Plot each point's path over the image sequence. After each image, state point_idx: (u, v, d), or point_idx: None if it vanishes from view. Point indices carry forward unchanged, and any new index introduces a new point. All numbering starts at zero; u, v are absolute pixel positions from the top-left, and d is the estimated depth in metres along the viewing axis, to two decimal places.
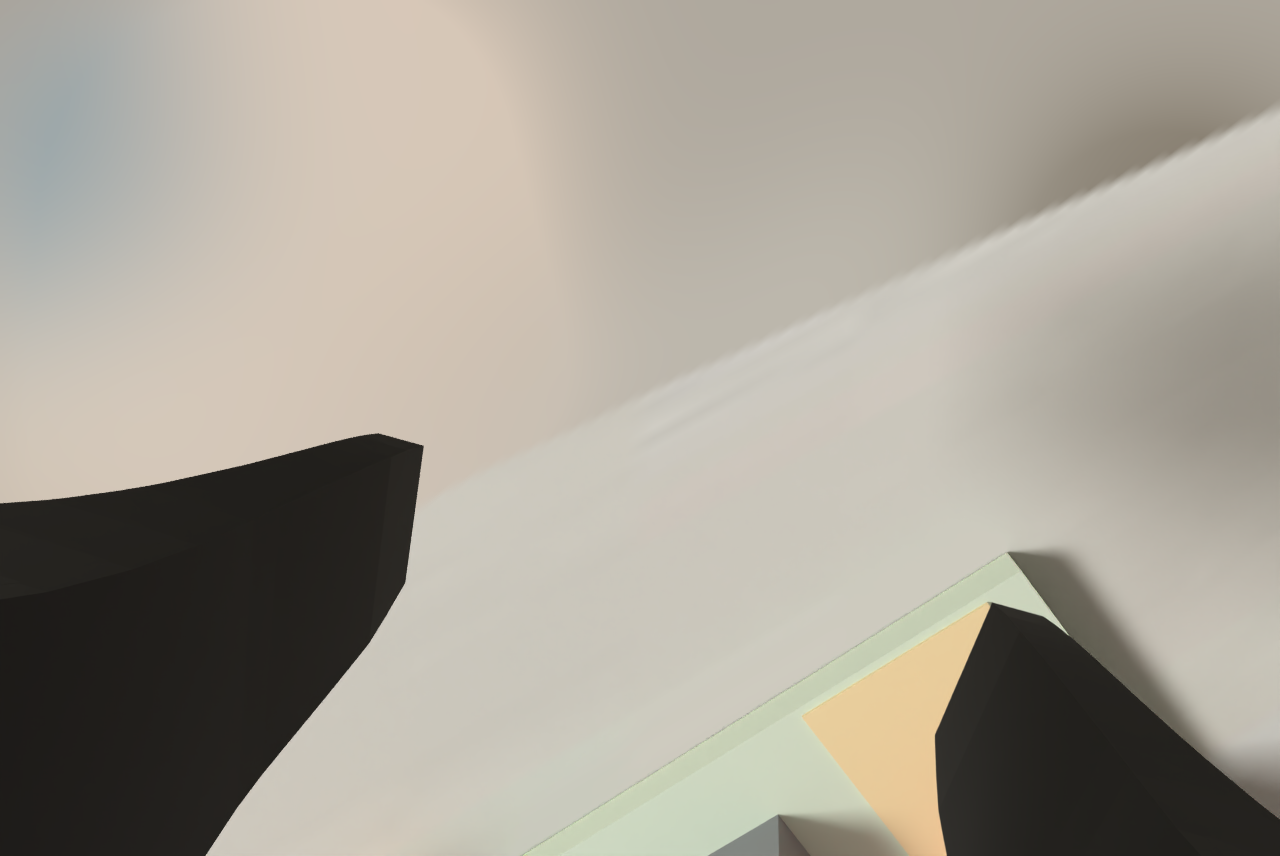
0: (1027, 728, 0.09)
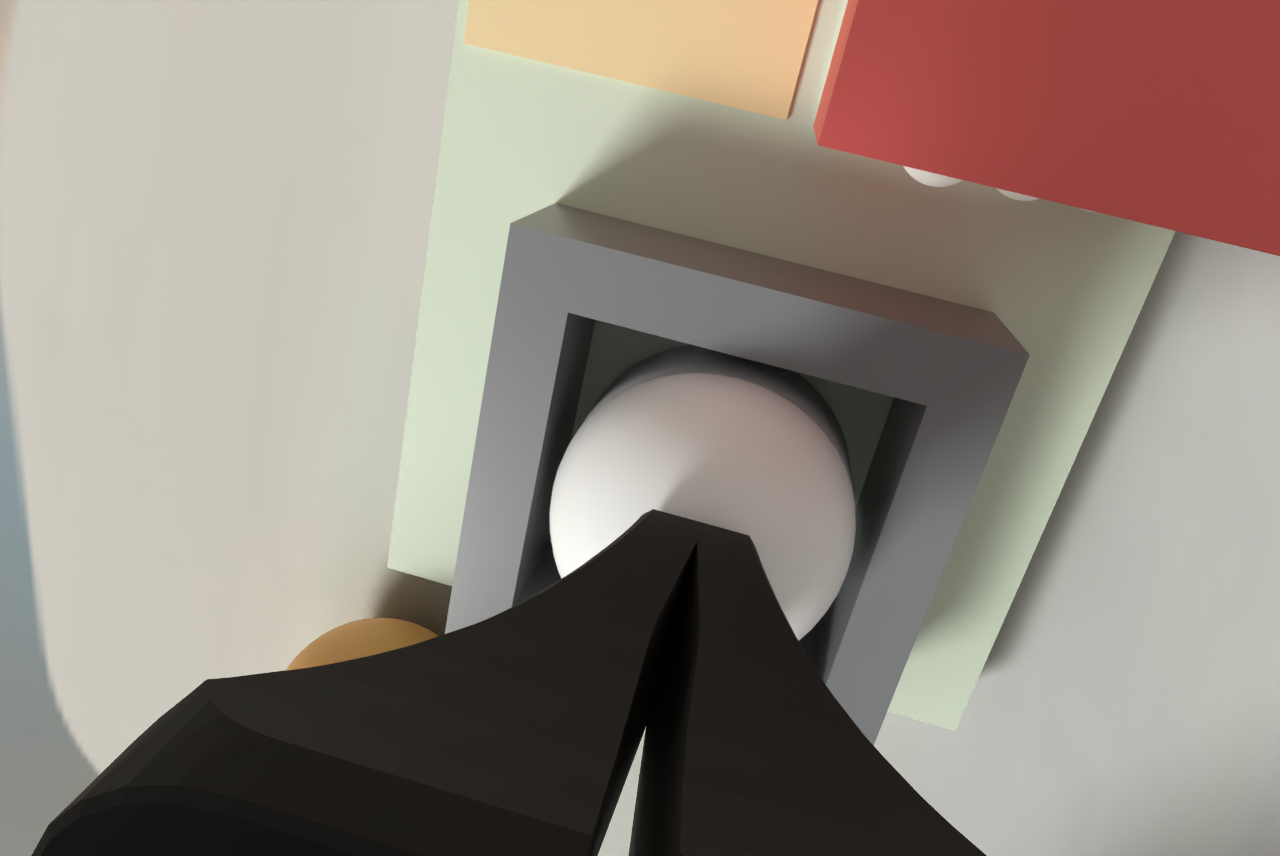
0: (682, 630, 0.09)
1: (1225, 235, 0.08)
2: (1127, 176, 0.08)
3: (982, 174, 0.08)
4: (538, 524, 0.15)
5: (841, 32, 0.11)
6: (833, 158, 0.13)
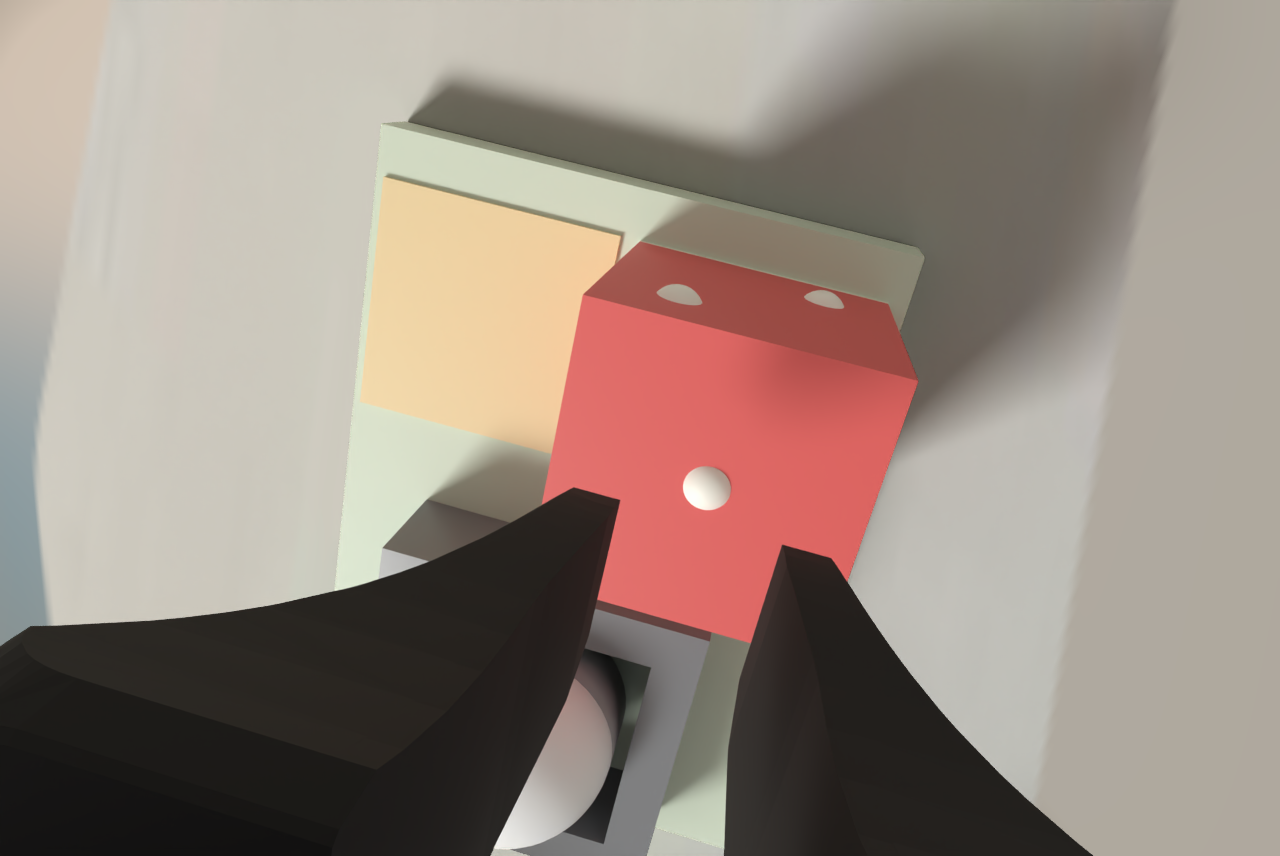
0: (777, 658, 0.09)
1: (748, 638, 0.15)
2: (692, 607, 0.15)
3: (616, 600, 0.15)
4: None
5: None
6: None
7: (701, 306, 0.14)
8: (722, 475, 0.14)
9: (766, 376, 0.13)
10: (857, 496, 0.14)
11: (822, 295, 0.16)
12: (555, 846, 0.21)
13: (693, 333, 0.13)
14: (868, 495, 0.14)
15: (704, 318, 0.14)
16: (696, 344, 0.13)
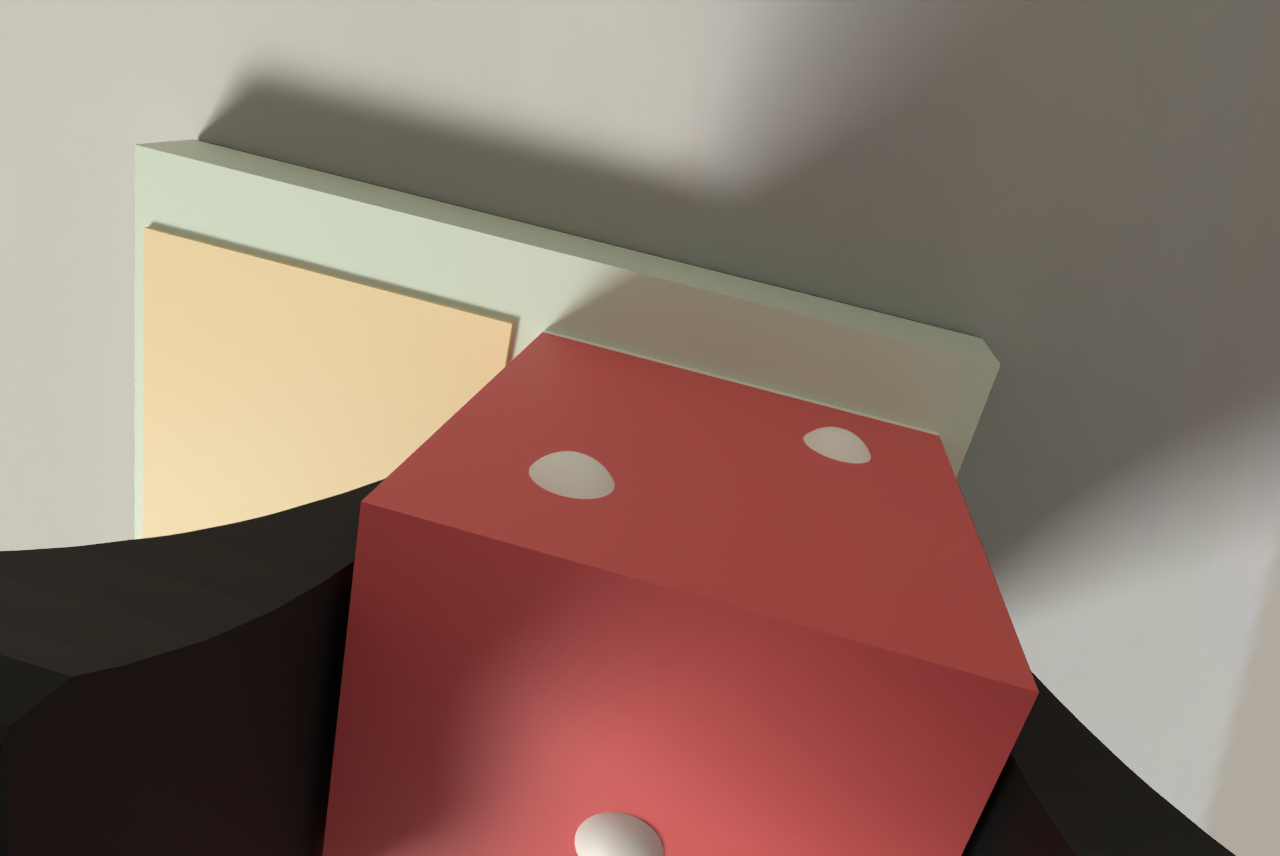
0: None
1: None
2: None
3: None
4: None
5: None
6: None
7: (612, 496, 0.08)
8: (647, 829, 0.07)
9: (729, 666, 0.07)
10: None
11: (834, 439, 0.10)
12: None
13: (581, 582, 0.07)
14: None
15: (608, 538, 0.07)
16: (588, 602, 0.07)
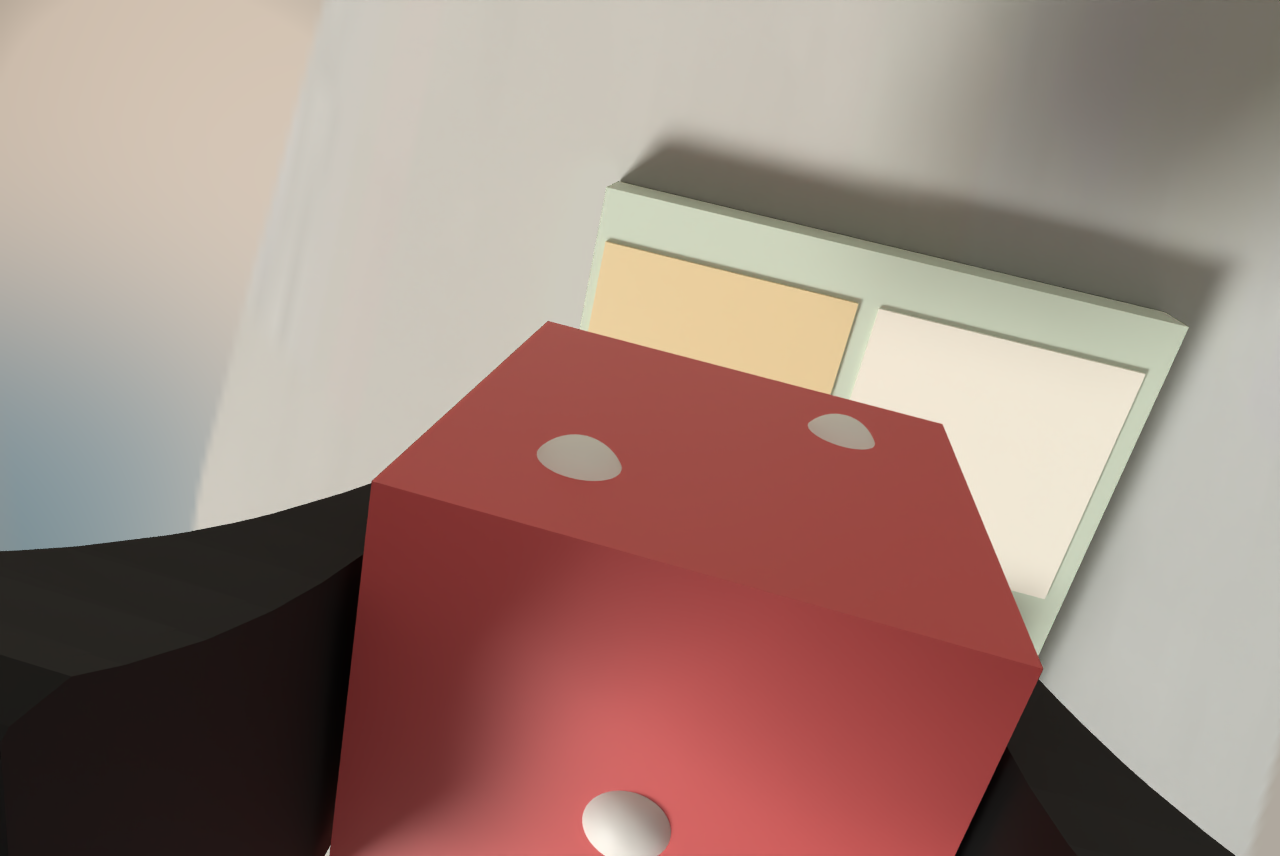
0: None
1: None
2: None
3: None
4: None
5: None
6: None
7: (620, 478, 0.08)
8: (653, 807, 0.07)
9: (736, 643, 0.07)
10: None
11: (837, 426, 0.10)
12: None
13: (589, 560, 0.07)
14: None
15: (616, 518, 0.07)
16: (596, 580, 0.07)
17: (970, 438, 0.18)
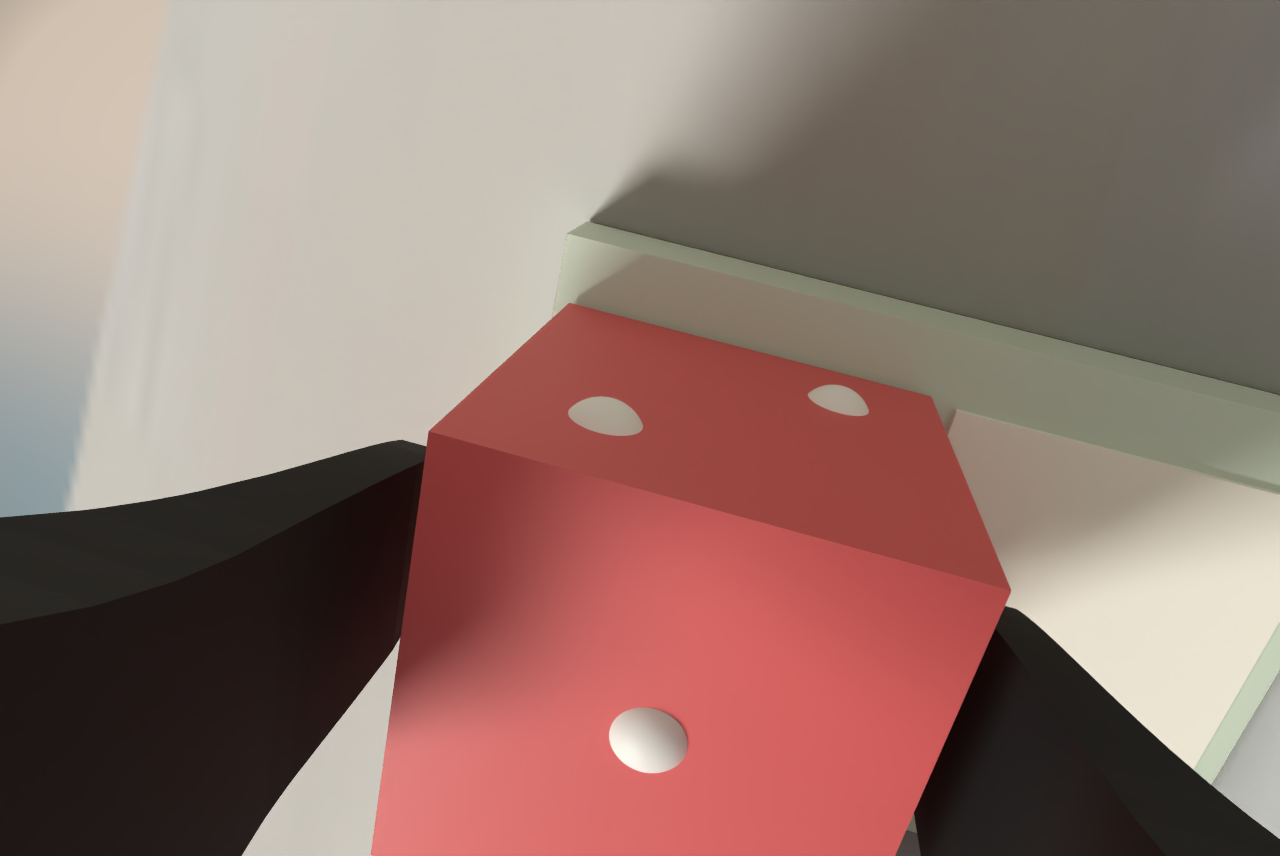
0: (995, 720, 0.09)
1: None
2: None
3: None
4: None
5: None
6: None
7: (642, 434, 0.09)
8: (672, 722, 0.08)
9: (745, 572, 0.08)
10: (899, 765, 0.08)
11: (835, 394, 0.11)
12: None
13: (618, 499, 0.08)
14: (918, 766, 0.08)
15: (642, 465, 0.08)
16: (624, 518, 0.08)
17: (1080, 591, 0.13)
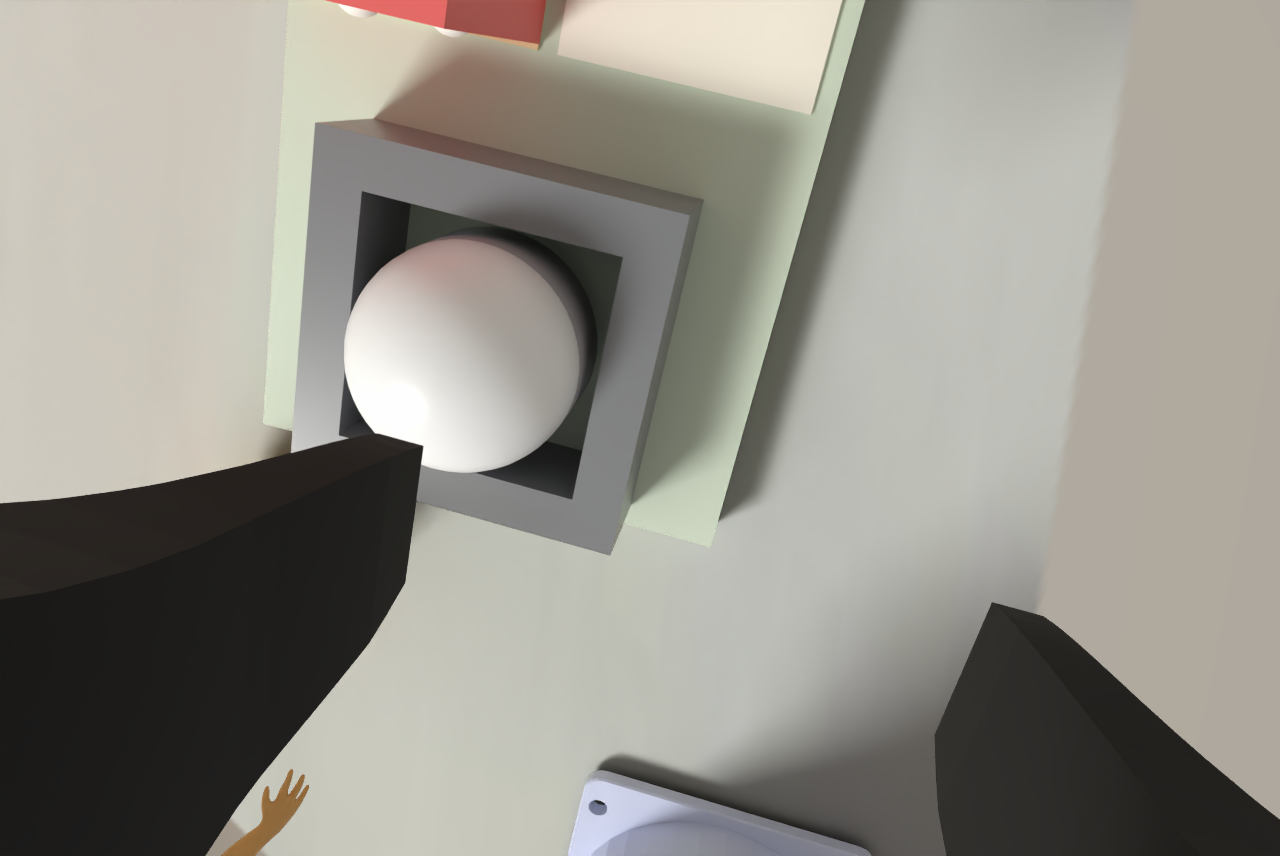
0: (1027, 728, 0.09)
1: (365, 5, 0.13)
2: None
3: None
4: None
5: None
6: (575, 80, 0.18)
7: None
8: None
9: None
10: None
11: None
12: (518, 507, 0.18)
13: None
14: None
15: None
16: None
17: None
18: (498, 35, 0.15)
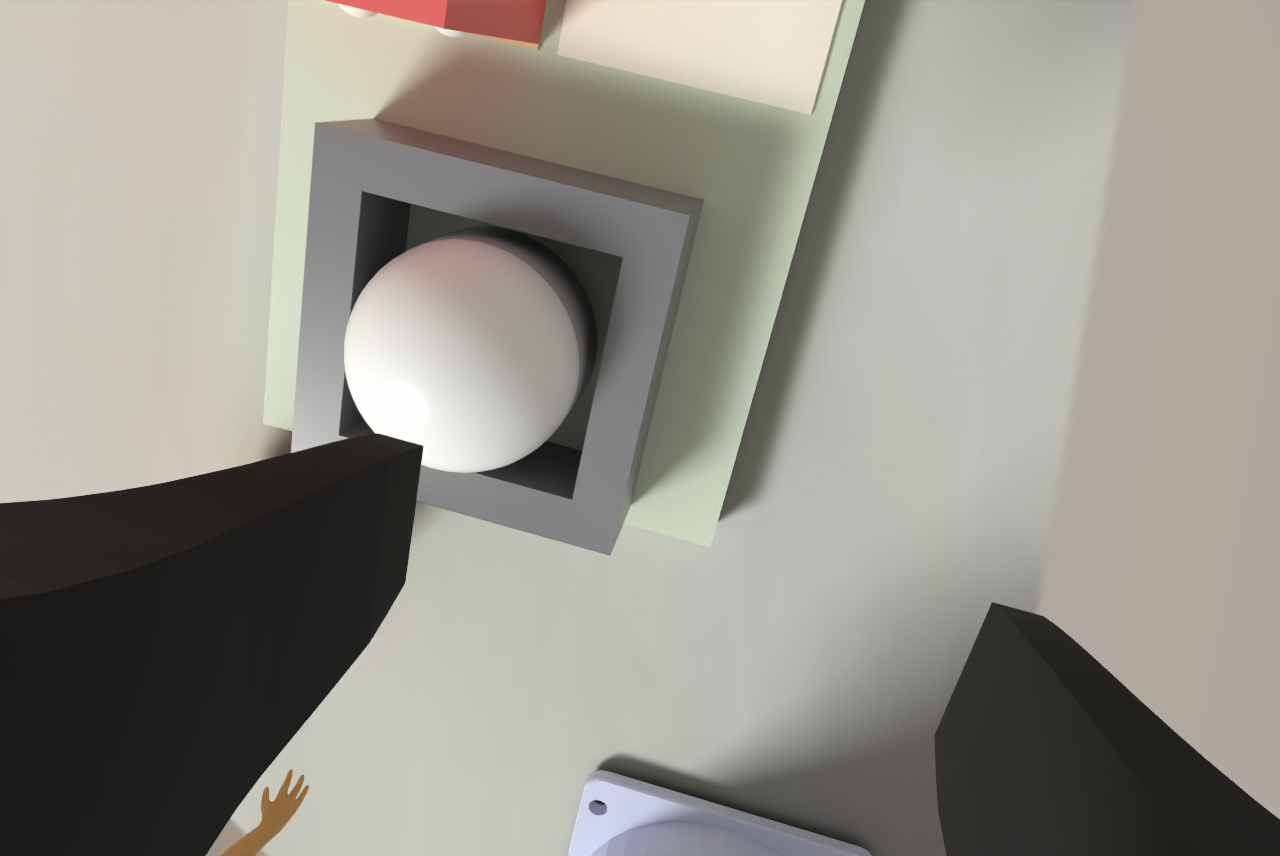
0: (1027, 728, 0.09)
1: (365, 5, 0.13)
2: None
3: None
4: None
5: None
6: (575, 80, 0.18)
7: None
8: None
9: None
10: None
11: None
12: (518, 507, 0.18)
13: None
14: None
15: None
16: None
17: None
18: (498, 35, 0.15)
